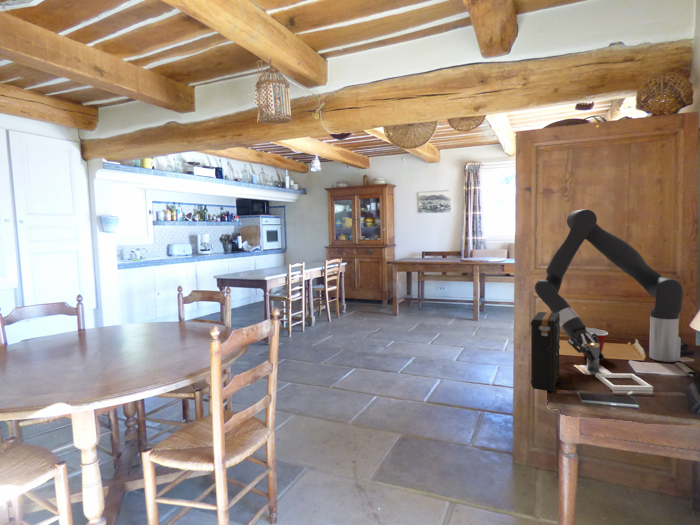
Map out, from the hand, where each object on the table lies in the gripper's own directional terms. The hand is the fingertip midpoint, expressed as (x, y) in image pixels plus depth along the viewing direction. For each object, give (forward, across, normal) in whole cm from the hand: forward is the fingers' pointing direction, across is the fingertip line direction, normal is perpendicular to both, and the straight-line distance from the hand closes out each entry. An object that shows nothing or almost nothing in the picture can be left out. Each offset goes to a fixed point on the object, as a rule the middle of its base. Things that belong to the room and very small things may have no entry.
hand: (598, 359), depth 155 cm
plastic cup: (-5, +14, +13) cm, 20 cm away
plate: (+2, 0, +5) cm, 6 cm away
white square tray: (+12, -3, -4) cm, 13 cm away
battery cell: (+2, 0, +4) cm, 5 cm away
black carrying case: (+3, -25, +5) cm, 25 cm away
